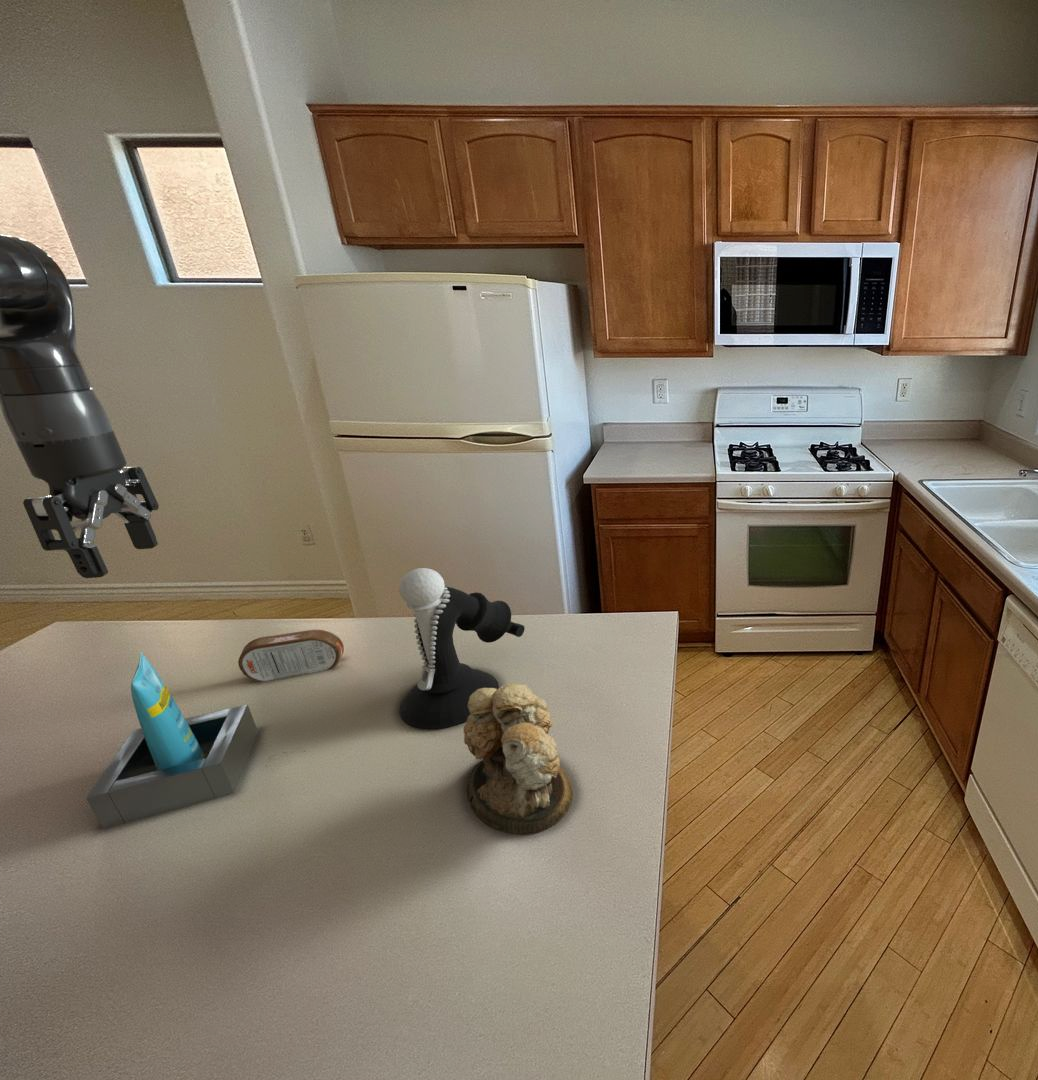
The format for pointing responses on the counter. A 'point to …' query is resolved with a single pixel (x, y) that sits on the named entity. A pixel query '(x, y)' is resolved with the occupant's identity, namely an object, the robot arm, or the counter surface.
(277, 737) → the counter surface
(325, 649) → the tin
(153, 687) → the tube
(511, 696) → the owl figurine
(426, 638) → the sculpture
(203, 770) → the stand
